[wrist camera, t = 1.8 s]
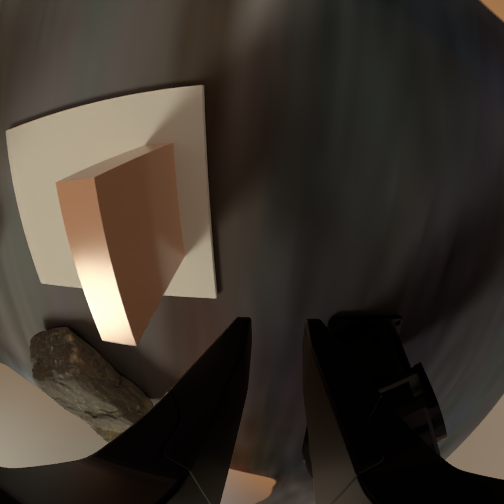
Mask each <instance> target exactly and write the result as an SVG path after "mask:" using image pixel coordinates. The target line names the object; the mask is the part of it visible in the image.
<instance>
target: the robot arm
mask: <svg viewBox="0 0 504 504" xmlns="http://www.w3.org/2000/svg"><path fill="white" fill-rule="evenodd" d="M397 321H398V322H397ZM335 322H336V324H333V323H335ZM402 325H403V319H402V317H401V316H398V315H397V316H364V317H333V318H331V319H330V320H329V322H328V327H326V326H325V324H324V323H323V322H322V321H321V320H320V319H307V320H306V321H305V328H304V336H303V396H304V405H305V413H306V421H307V427H306V433H305V438H304V443H303V448H302V453H303V462H304V463H305V464H306V466H307V469H308V471H309V473H310V475H311V477H312V478H313V483H314V493H315V503H316V504H504V480H502V479H497V478H492V477H487V476H482V475H478V474H473V473H469V472H465V471H462V470H459V469H457V468H455V467H454V466H452V465H451V464H449V463H448V462H446V461H445V460H444V459H443V458H442V457H441V456H440V452H439V448H438V444H437V443H438V442H440V441H443V440H445V439H447V433H446V428H445V424H444V420H443V417H442V413H441V410H440V407H439V404H438V401H437V399H436V396H435V394H434V391H433V389H432V387H431V384H430V382H429V380H428V377H427V375H426V373H425V371H424V368H423V366H422V364H421V362H420V363H418V364H416V365H414V367H412V368H411V367H410V364H409V361H408V359H407V356H406V353H405V351H404V348H403V346H402V343H401V341H400V338H399V333H400V330H401V327H402ZM251 345H252V327H251V318H249V317H237V318H235V319H234V320H233V322H232V323H231V324H230V325H229V326H228V327H227V328H226V329H225V330H224V332H223V333H222V334H221V335H220V336H219V337H218V338H217V339H216V340H215V342H214V343H213V344H212V345H211V346H210V347H209V348H208V349H207V350H206V351H205V352H204V354H203V355H202V356H201V357H200V358H199V359H198V360H197V361H196V362H195V363H194V364H193V365H192V367H191V368H190V369H189V370H188V371H187V372H186V373H185V374H184V375H183V376H182V377H181V378H180V379H179V380H178V381H177V383H176V384H175V385H174V386H173V387H172V388H171V389H170V391H168V392H167V393H166V394H165V395H164V396H163V397H162V398H161V399H160V400H159V401H158V402H157V403H156V404H155V405H154V406H153V407H152V408H151V409H150V410H149V411H148V412H147V413H146V414H144V415H143V416H142V417H141V418H140V419H139V420H137V421H136V422H135V423H134V424H133V425H131V426H130V427H129V428H128V429H126V430H125V431H124V432H122V433H121V434H120V435H119V436H117V437H116V438H115V439H113V440H112V441H111V442H109V443H108V444H107V445H105V446H104V447H103V448H102V449H100V450H99V451H97V452H96V453H94V454H92V455H90V456H88V457H86V458H83V459H80V460H76V461H71V462H65V463H58V464H51V465H44V466H35V467H26V468H4V467H0V504H220V502H221V498H222V494H223V490H224V486H225V482H226V478H227V475H228V471H229V467H230V462H231V458H232V454H233V450H234V446H235V442H236V438H237V434H238V429H239V425H240V421H241V417H242V412H243V408H244V404H245V400H246V395H247V390H248V382H249V370H250V358H251Z"/></svg>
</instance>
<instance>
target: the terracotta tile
mask: <svg viewBox="0 0 504 504" xmlns="http://www.w3.org/2000/svg"><path fill="white" fill-rule="evenodd" d="M55 183H56V188H57V193H58V198H59V203H60V208H61V213H62V217H63V221H64V226H65V230H66V234H67V237H68V241H69V245H70V249H71V252H72V256H73V259H74V263H75V266H76V269H77V272H78V276H79V279H80V282H81V285H82V288H83V291H84V294H85V297H86V299H87V302H88V305H89V308H90V310H91V313H92V316H93V318H94V321H95V323H96V326H97V328H98V331H99V333H100V336H101V338H102V341H108V342H114V343H120V344H126V345H132V346H137V344H138V343H139V341H140V339H141V337H142V335H143V333H144V331H145V329H146V327H147V325H148V323H149V321H150V319H151V317H152V316H153V314H154V312H155V310H156V308H157V306H158V304H159V302H160V301H161V299H162V297H163V295H164V293H165V291H166V290H167V288H168V286H169V284H170V282H171V280H172V279H173V277H174V275H175V273H176V271H177V270H178V268H179V266H180V264H181V263H182V261H183V259H184V257H185V254H184V246H183V238H182V230H181V222H180V213H179V203H178V193H177V183H176V172H175V159H174V146H173V143H161V144H151V145H144V146H141V147H138V148H135V149H133V150H130V151H127V152H125V153H122V154H119V155H117V156H114V157H112V158H109V159H107V160H104V161H102V162H100V163H97V164H95V165H93V166H90V167H88V168H86V169H83V170H81V171H79V172H77V173H74V174H72V175H70V176H68V177H66V178H64V179H62V180H60V181H57V182H55Z"/></svg>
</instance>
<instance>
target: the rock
mask: <svg viewBox="0 0 504 504" xmlns="http://www.w3.org/2000/svg"><path fill="white" fill-rule="evenodd" d="M30 343H31V345H30V356H31V357H30V359H31V362H32V363H33V364H34V366H33V369H32V372H33V379H34V382H35V383H36V385H37V386H38V387H39V388H40V389H41V390H42V391H43V392H45V393H46V394H48V395H49V396H50V397H51V398H52V399H54V400H55V401H56V402H57V403H58V404H59V405H61V406H62V407H64V409H66V410H68V411H69V412H71V413H72V414H75V415H77V416H78V417H80V418H81V419H83V420H84V421H86V422H87V423H88V424H89V425H90V426H91V427H92V428H93V429H94V430H95V431H96V432H97V434H99V435H100V436H101V437H102V438H103V439H104V440H105V441H107V442H111V441H112V440H113V439H115V438H116V437H117V436H119V435H120V434H121V433H122V432H124V431H125V430H126V429H128V428H129V427H130V426H131V425H133V424H134V423H135V422H136V421H137V420H139V419H140V418H141V417H142V416H143V415H144V414H146V413H147V412H148V411H149V410H150V409H151V408H152V407H153V403H152V401H151V400H150V399H149V398H148V397H147V396H146V395H145V394H144V393H143V391H142V390H141V389H140V388H139V387H137V386H136V385H135V384H134V383H132V382H131V381H130V380H128V379H126V378H125V377H123V376H121V375H120V374H118V373H117V372H116V371H115V370H114V368H113V366H112V365H111V364H110V363H109V362H108V361H106V360H105V359H104V358H103V357H102V356H101V355H100V354H99V353H98V352H97V351H96V350H95V349H94V348H93V347H91V346H90V345H89V344H88V343H86V342H85V341H84V340H82V339H81V338H80V337H79V336H77V335H76V334H75V333H74V332H73V331H71V330H70V329H69V328H68V327H59V328H52V329H50V330H48V331H42V332H39V333H38V334H36V335H35V336H34V337H32V339H31V341H30Z"/></svg>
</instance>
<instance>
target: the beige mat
mask: <svg viewBox="0 0 504 504" xmlns="http://www.w3.org/2000/svg"><path fill="white" fill-rule="evenodd" d="M6 140H7V148H8V156H9V162H10V169H11V175H12V180H13V185H14V190H15V195H16V200H17V204H18V209H19V213H20V217H21V221H22V224H23V228H24V232H25V235H26V239H27V242H28V246H29V249H30V252H31V255H32V258H33V261H34V264H35V267H36V270H37V273H38V276H39V278H40V281H41V283H42V284H50V285H59V286H67V287H76V288H82V285H81V282H80V279H79V276H78V272H77V269H76V266H75V263H74V259H73V256H72V252H71V249H70V245H69V241H68V237H67V234H66V230H65V226H64V221H63V217H62V213H61V208H60V203H59V198H58V193H57V188H56V183H55V182H57V181H60V180H62V179H64V178H66V177H68V176H70V175H72V174H74V173H77V172H79V171H81V170H83V169H86V168H88V167H90V166H93V165H95V164H97V163H100V162H102V161H104V160H107V159H109V158H112V157H114V156H117V155H119V154H122V153H125V152H127V151H130V150H133V149H135V148H138V147H141V146H144V145H151V144H161V143H173V146H174V159H175V172H176V183H177V193H178V203H179V213H180V222H181V230H182V238H183V246H184V254H185V257H184V259H183V261H182V263H181V264H180V266H179V268H178V270H177V271H176V273H175V275H174V277H173V279H172V280H171V282H170V284H169V286H168V288H167V290H166V291H165V293H164V295H167V296H182V297H199V298H216V297H217V286H216V275H215V264H214V252H213V240H212V227H211V213H210V199H209V183H208V166H207V147H206V125H205V98H204V85H197V86H187V87H178V88H170V89H163V90H156V91H150V92H144V93H138V94H132V95H127V96H122V97H117V98H112V99H108V100H103V101H99V102H95V103H91V104H87V105H83V106H79V107H75V108H72V109H68V110H65V111H61V112H58V113H55V114H52V115H48V116H45V117H42V118H39V119H36V120H34V121H31V122H28V123H25V124H22V125H20V126H17V127H15V128H12V129H9V130H7V131H6Z"/></svg>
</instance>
